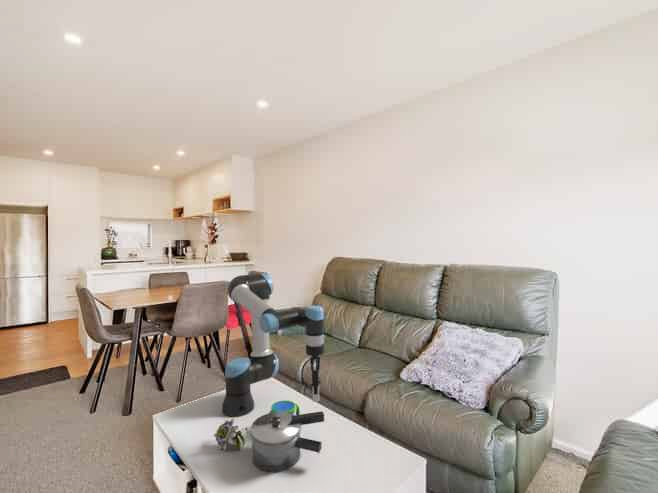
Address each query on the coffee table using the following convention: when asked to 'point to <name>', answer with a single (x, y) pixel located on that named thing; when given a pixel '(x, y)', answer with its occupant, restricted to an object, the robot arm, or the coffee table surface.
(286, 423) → the cooker lid
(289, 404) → the snack cup
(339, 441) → the coffee table surface
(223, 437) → the passion flower
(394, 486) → the coffee table surface
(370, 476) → the coffee table surface
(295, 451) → the cooker pot
